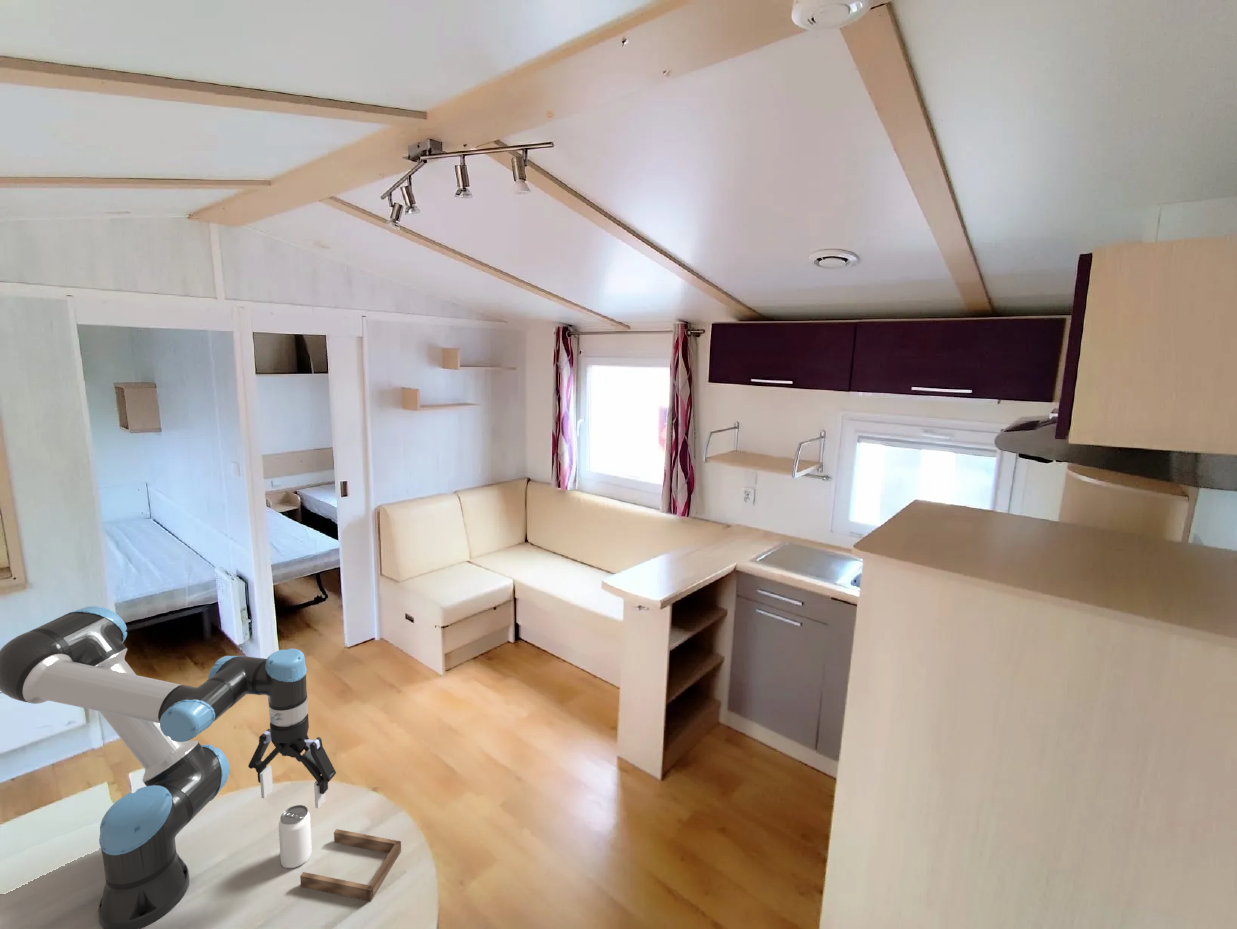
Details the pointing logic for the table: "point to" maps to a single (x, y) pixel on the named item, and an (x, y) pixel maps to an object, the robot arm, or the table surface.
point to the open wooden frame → (351, 887)
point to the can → (295, 836)
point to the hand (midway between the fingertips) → (293, 798)
